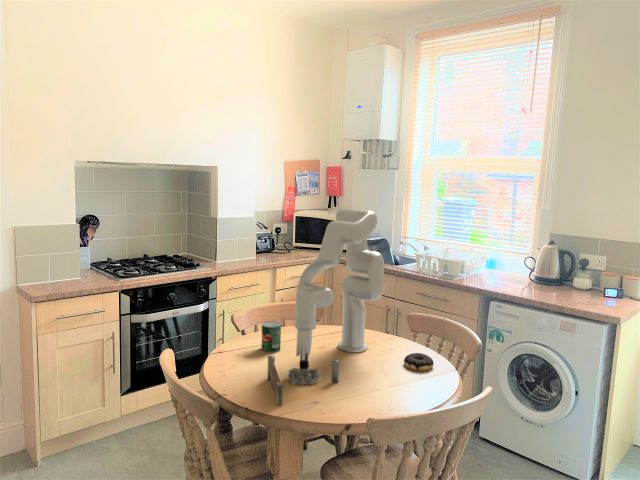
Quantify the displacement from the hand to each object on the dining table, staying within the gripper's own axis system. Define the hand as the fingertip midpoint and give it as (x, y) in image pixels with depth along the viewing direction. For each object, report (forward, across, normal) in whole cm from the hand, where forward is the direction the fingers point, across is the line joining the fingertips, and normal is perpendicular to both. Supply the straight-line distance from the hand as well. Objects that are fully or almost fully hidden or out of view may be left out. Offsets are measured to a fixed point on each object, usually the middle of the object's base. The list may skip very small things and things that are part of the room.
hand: (303, 371), depth 188 cm
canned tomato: (+1, -23, -16) cm, 28 cm away
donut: (+2, -14, +44) cm, 46 cm away
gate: (+1, +17, -8) cm, 19 cm away
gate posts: (+1, +6, 0) cm, 6 cm away
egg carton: (+2, +6, 0) cm, 6 cm away
